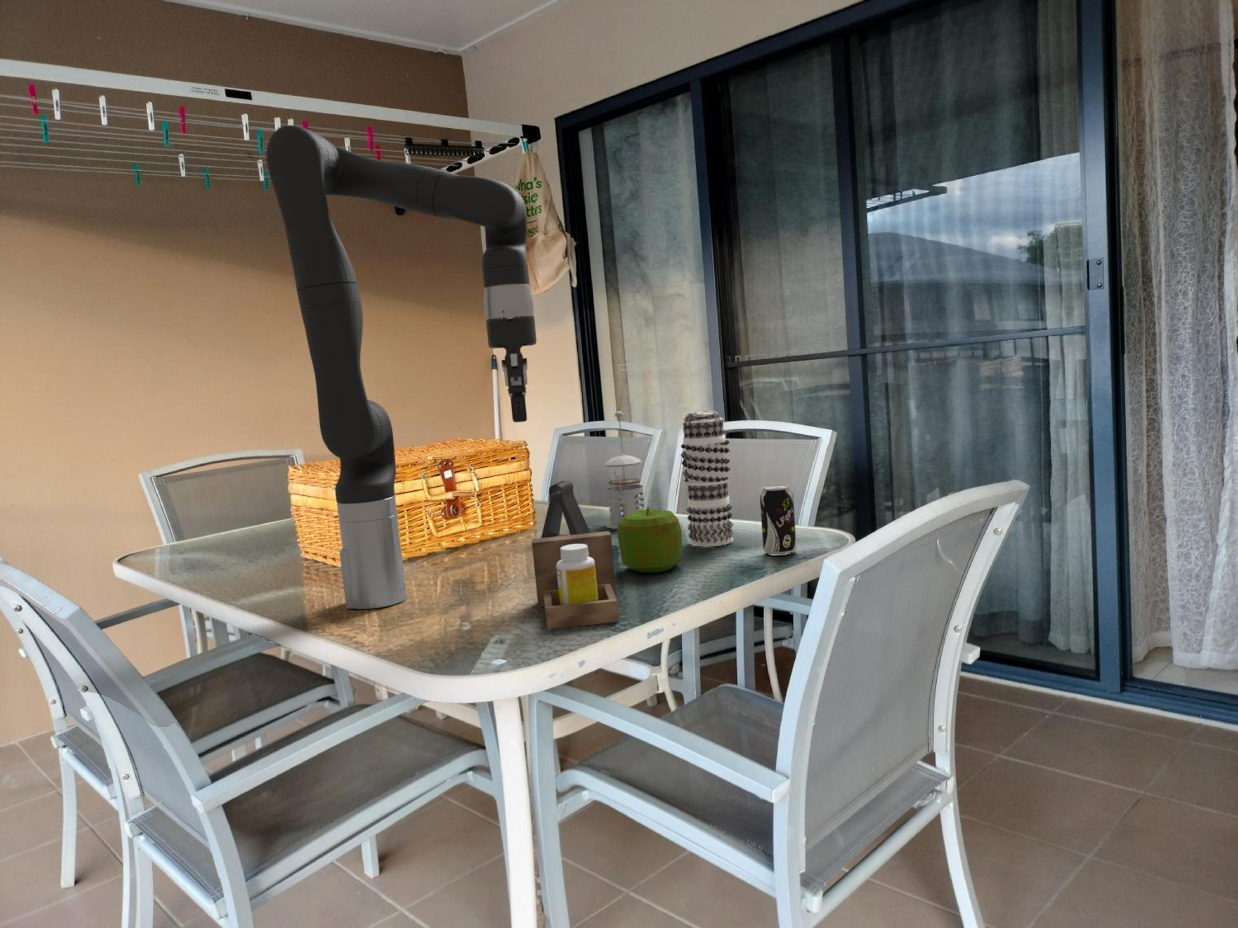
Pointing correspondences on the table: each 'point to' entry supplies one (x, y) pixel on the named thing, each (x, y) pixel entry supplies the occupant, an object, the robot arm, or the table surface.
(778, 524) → the beverage can
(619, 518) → the french press
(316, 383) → the robot arm
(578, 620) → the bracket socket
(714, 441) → the decorative candle
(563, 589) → the supplement bottle
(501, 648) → the table surface
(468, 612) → the table surface
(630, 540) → the apple
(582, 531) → the phone stand
